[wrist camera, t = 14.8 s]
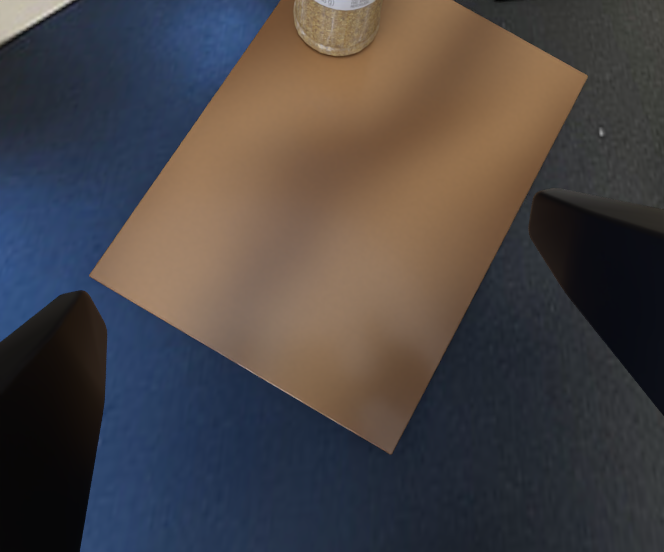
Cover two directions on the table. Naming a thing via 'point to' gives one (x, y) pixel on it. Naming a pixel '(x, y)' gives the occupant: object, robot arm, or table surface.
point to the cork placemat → (346, 205)
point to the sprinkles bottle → (337, 24)
